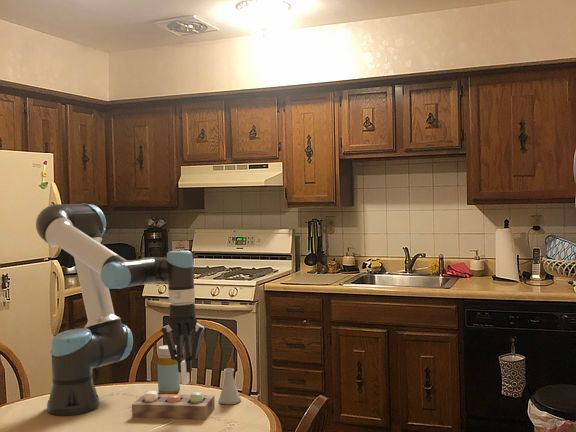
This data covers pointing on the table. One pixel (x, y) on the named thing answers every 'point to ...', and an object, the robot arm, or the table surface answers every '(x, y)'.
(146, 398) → the button ivory
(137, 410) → the console
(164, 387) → the bottle
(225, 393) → the flask
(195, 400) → the button sage
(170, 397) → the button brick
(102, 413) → the table surface
